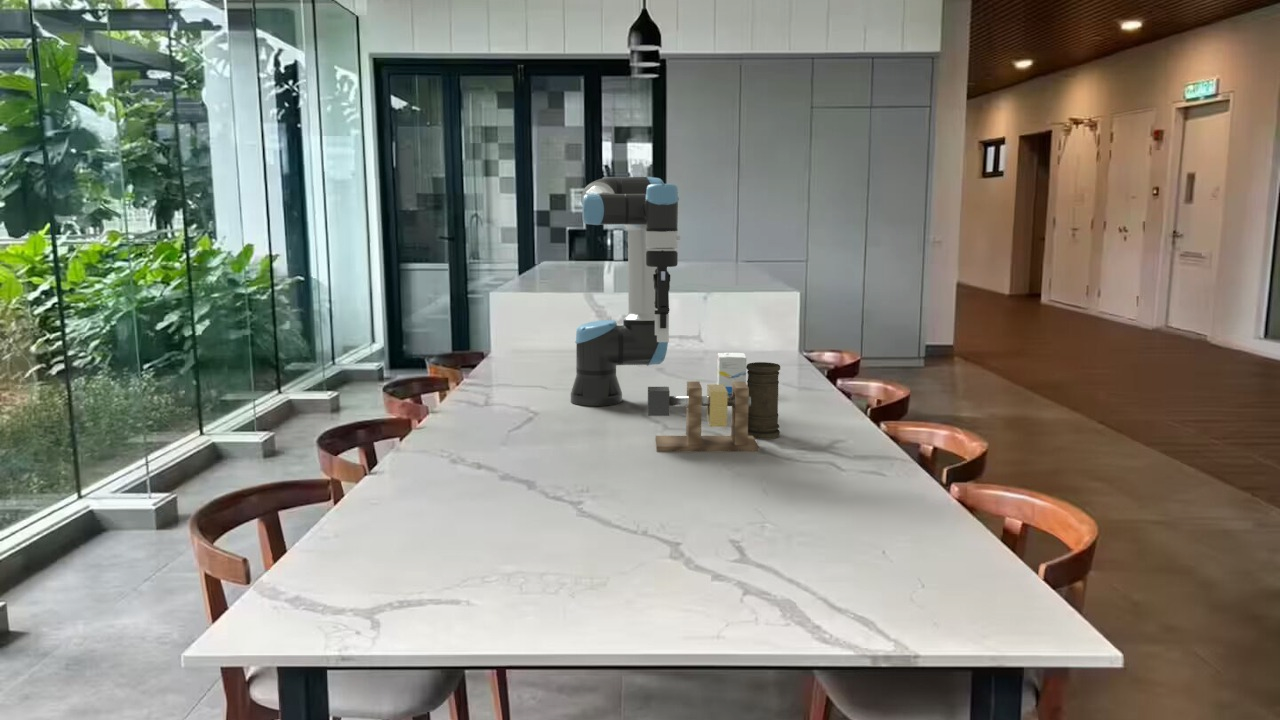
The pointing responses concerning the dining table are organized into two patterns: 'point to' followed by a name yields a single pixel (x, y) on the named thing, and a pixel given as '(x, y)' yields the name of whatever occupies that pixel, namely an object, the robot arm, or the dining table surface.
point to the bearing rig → (712, 443)
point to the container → (763, 400)
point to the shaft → (674, 401)
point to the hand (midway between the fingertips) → (661, 338)
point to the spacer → (717, 406)
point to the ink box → (731, 369)
